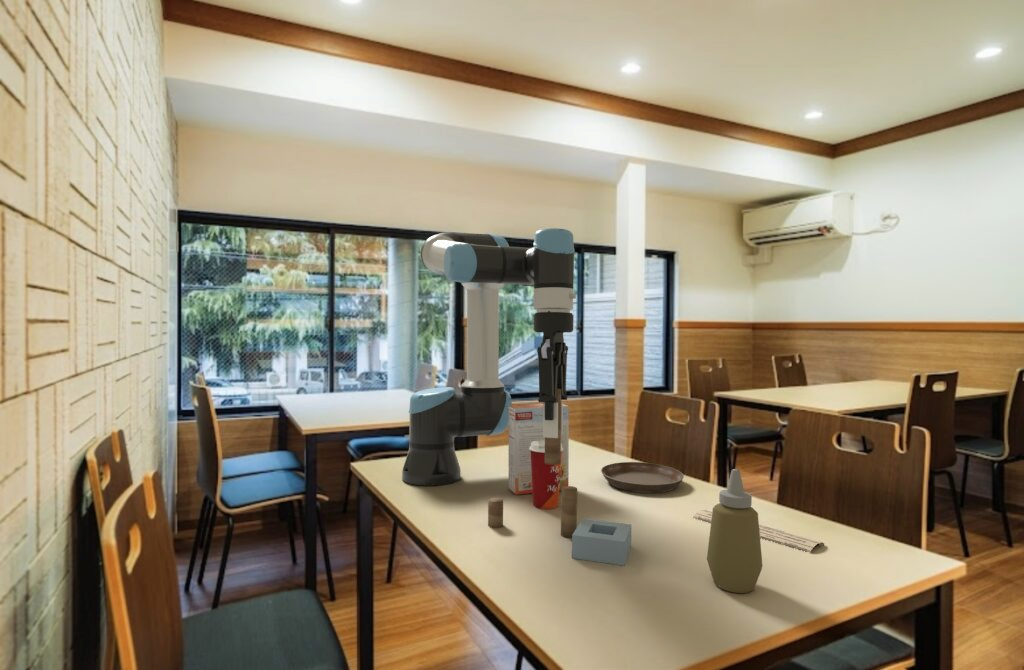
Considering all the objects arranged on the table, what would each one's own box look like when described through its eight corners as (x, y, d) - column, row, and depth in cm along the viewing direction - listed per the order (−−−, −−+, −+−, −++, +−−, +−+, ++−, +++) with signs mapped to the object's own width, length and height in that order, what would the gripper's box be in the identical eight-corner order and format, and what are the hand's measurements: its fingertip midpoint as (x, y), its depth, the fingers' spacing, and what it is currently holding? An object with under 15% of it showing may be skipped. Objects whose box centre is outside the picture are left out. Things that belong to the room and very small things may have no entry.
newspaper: (693, 521, 119) (693, 513, 119) (711, 514, 123) (711, 506, 123) (810, 557, 101) (810, 547, 101) (826, 547, 105) (827, 538, 105)
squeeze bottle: (697, 574, 91) (699, 464, 91) (745, 573, 92) (747, 463, 92) (720, 598, 83) (722, 477, 83) (772, 597, 84) (775, 476, 84)
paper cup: (560, 511, 122) (561, 447, 122) (525, 509, 123) (526, 445, 123) (564, 501, 130) (565, 440, 129) (531, 498, 131) (532, 438, 131)
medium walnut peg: (562, 531, 110) (563, 485, 110) (578, 533, 109) (578, 486, 109) (559, 536, 108) (559, 489, 107) (574, 538, 107) (575, 491, 106)
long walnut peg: (547, 460, 109) (547, 388, 109) (562, 462, 108) (562, 388, 108) (542, 464, 106) (543, 389, 106) (558, 465, 105) (558, 390, 105)
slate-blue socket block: (582, 539, 106) (582, 518, 106) (631, 546, 103) (631, 524, 103) (571, 558, 98) (572, 534, 97) (624, 565, 95) (624, 541, 95)
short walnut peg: (491, 522, 115) (491, 497, 115) (505, 523, 114) (505, 499, 114) (485, 526, 112) (486, 501, 112) (499, 528, 111) (500, 503, 111)
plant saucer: (689, 498, 133) (689, 484, 133) (601, 493, 137) (601, 480, 136) (677, 476, 154) (677, 463, 154) (600, 472, 157) (601, 460, 157)
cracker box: (559, 484, 144) (560, 402, 143) (569, 490, 138) (570, 405, 138) (507, 488, 139) (507, 403, 139) (514, 495, 133) (515, 407, 133)
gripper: (562, 309, 98) (561, 444, 98) (582, 313, 113) (581, 430, 113) (521, 310, 101) (520, 441, 101) (546, 313, 116) (545, 428, 116)
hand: (552, 435), depth 107 cm, fingers closed on long walnut peg, 3 cm apart
